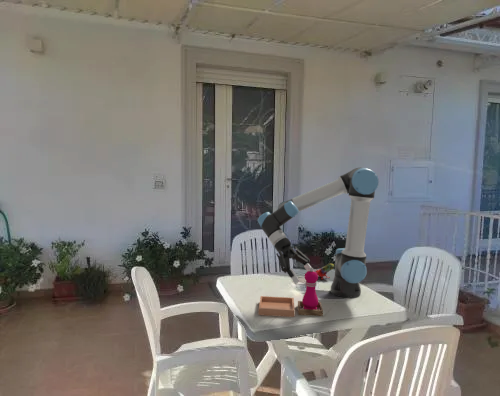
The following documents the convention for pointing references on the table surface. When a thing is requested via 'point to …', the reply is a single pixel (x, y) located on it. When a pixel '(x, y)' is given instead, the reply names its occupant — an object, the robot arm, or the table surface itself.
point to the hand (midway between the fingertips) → (306, 279)
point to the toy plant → (324, 270)
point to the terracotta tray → (276, 306)
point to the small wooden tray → (309, 311)
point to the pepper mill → (310, 290)
